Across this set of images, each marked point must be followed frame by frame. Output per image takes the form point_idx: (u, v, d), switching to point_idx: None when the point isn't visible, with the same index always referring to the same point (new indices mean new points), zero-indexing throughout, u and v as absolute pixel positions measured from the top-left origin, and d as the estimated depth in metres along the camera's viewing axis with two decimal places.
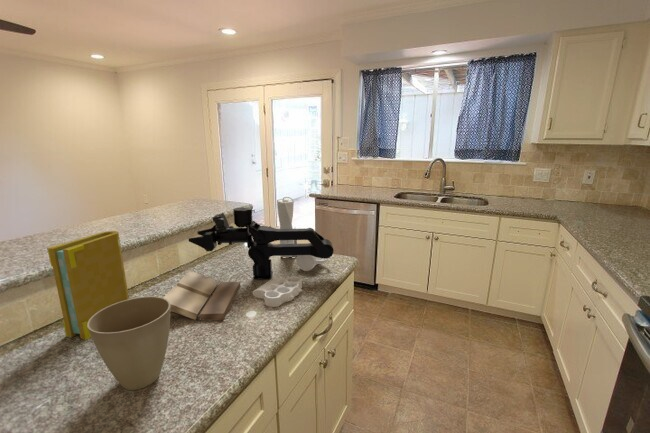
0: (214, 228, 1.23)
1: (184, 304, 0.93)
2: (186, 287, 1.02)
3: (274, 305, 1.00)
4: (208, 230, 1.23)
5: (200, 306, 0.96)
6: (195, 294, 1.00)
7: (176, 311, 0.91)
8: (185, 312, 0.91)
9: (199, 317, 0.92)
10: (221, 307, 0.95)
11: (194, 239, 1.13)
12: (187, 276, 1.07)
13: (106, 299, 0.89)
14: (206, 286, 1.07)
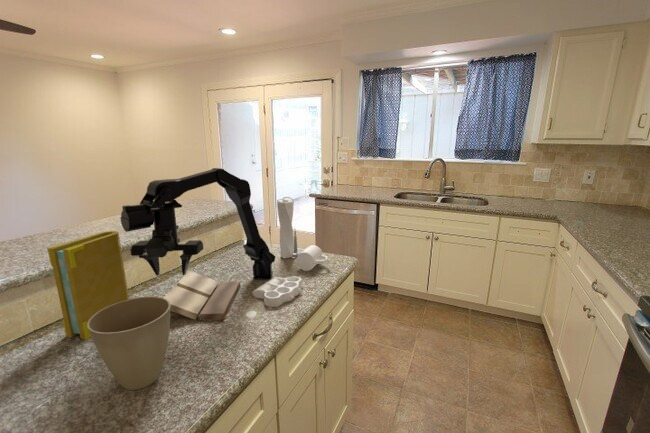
0: None
1: (184, 304, 0.93)
2: (186, 287, 1.02)
3: (274, 305, 1.00)
4: (154, 263, 0.92)
5: (200, 306, 0.96)
6: (195, 294, 1.00)
7: (176, 311, 0.91)
8: (185, 312, 0.91)
9: (199, 317, 0.92)
10: (221, 307, 0.95)
11: (185, 267, 0.93)
12: (187, 276, 1.07)
13: (106, 299, 0.89)
14: (206, 286, 1.07)
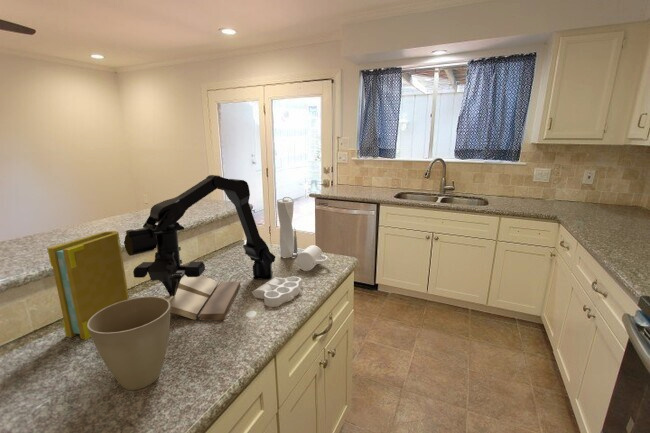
0: None
1: (183, 305, 0.93)
2: (186, 287, 1.02)
3: (274, 305, 1.00)
4: (168, 284, 0.94)
5: (200, 306, 0.96)
6: (195, 295, 1.00)
7: (176, 312, 0.91)
8: (185, 313, 0.91)
9: (199, 317, 0.92)
10: (221, 307, 0.95)
11: (175, 288, 0.95)
12: None
13: (106, 299, 0.89)
14: (206, 286, 1.07)
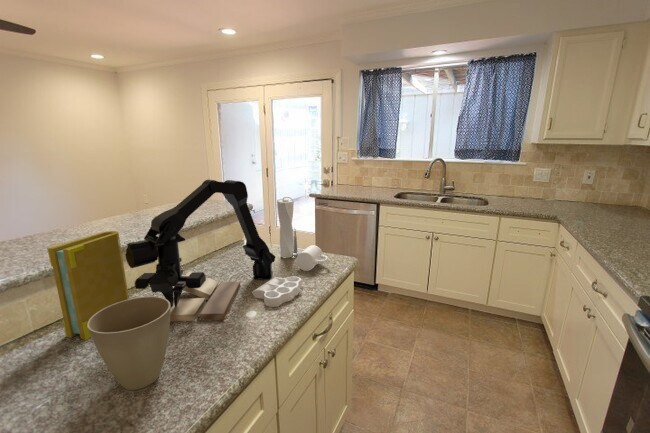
0: None
1: (180, 310, 0.94)
2: (186, 287, 1.02)
3: (274, 305, 1.00)
4: (168, 294, 0.94)
5: (197, 307, 0.96)
6: (192, 299, 1.00)
7: (174, 319, 0.92)
8: (183, 317, 0.92)
9: (199, 317, 0.92)
10: (221, 307, 0.95)
11: (177, 299, 0.95)
12: None
13: (106, 299, 0.89)
14: (206, 286, 1.07)
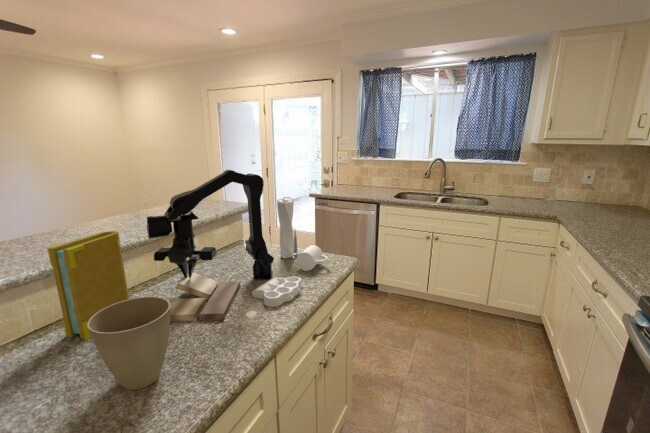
0: None
1: (180, 310, 0.94)
2: (186, 287, 1.02)
3: (274, 305, 1.00)
4: (183, 267, 1.05)
5: (197, 307, 0.96)
6: (192, 299, 1.00)
7: (174, 319, 0.92)
8: (183, 317, 0.92)
9: (199, 317, 0.92)
10: (221, 307, 0.95)
11: (191, 271, 1.06)
12: None
13: (106, 299, 0.89)
14: (206, 286, 1.07)
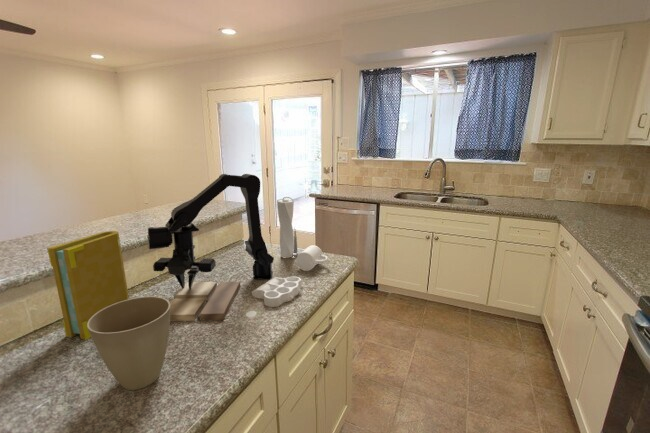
0: None
1: (180, 310, 0.94)
2: (183, 296, 1.03)
3: (274, 305, 1.00)
4: (181, 277, 1.06)
5: (197, 307, 0.96)
6: (192, 299, 1.00)
7: (174, 319, 0.92)
8: (183, 317, 0.92)
9: (199, 317, 0.92)
10: (221, 307, 0.95)
11: (192, 282, 1.07)
12: None
13: (106, 299, 0.89)
14: (203, 289, 1.07)
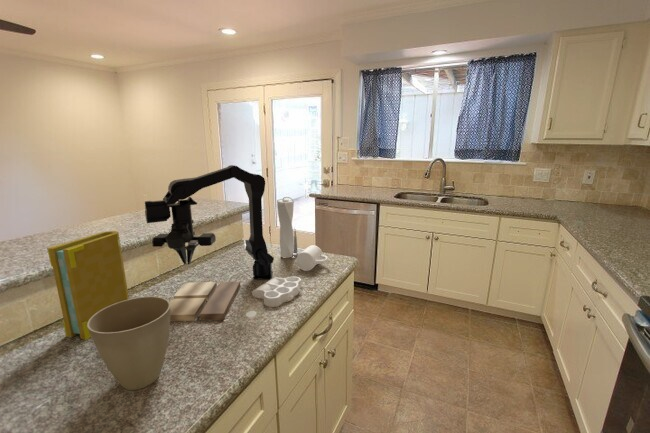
0: None
1: (180, 310, 0.94)
2: (183, 297, 1.03)
3: (274, 305, 1.00)
4: (182, 253, 1.04)
5: (197, 307, 0.96)
6: (192, 299, 1.00)
7: (174, 319, 0.92)
8: (183, 317, 0.92)
9: (199, 317, 0.92)
10: (221, 307, 0.95)
11: (190, 257, 1.05)
12: (183, 288, 1.08)
13: (106, 299, 0.89)
14: (203, 290, 1.07)
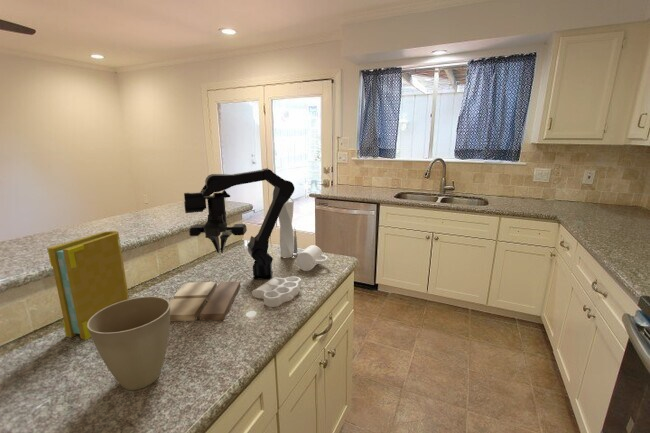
0: (214, 236, 1.11)
1: (180, 310, 0.94)
2: (183, 297, 1.03)
3: (274, 305, 1.00)
4: (216, 242, 1.12)
5: (197, 307, 0.96)
6: (192, 299, 1.00)
7: (174, 319, 0.92)
8: (183, 317, 0.92)
9: (199, 317, 0.92)
10: (221, 307, 0.95)
11: (223, 246, 1.13)
12: (183, 288, 1.08)
13: (106, 299, 0.89)
14: (203, 290, 1.07)
